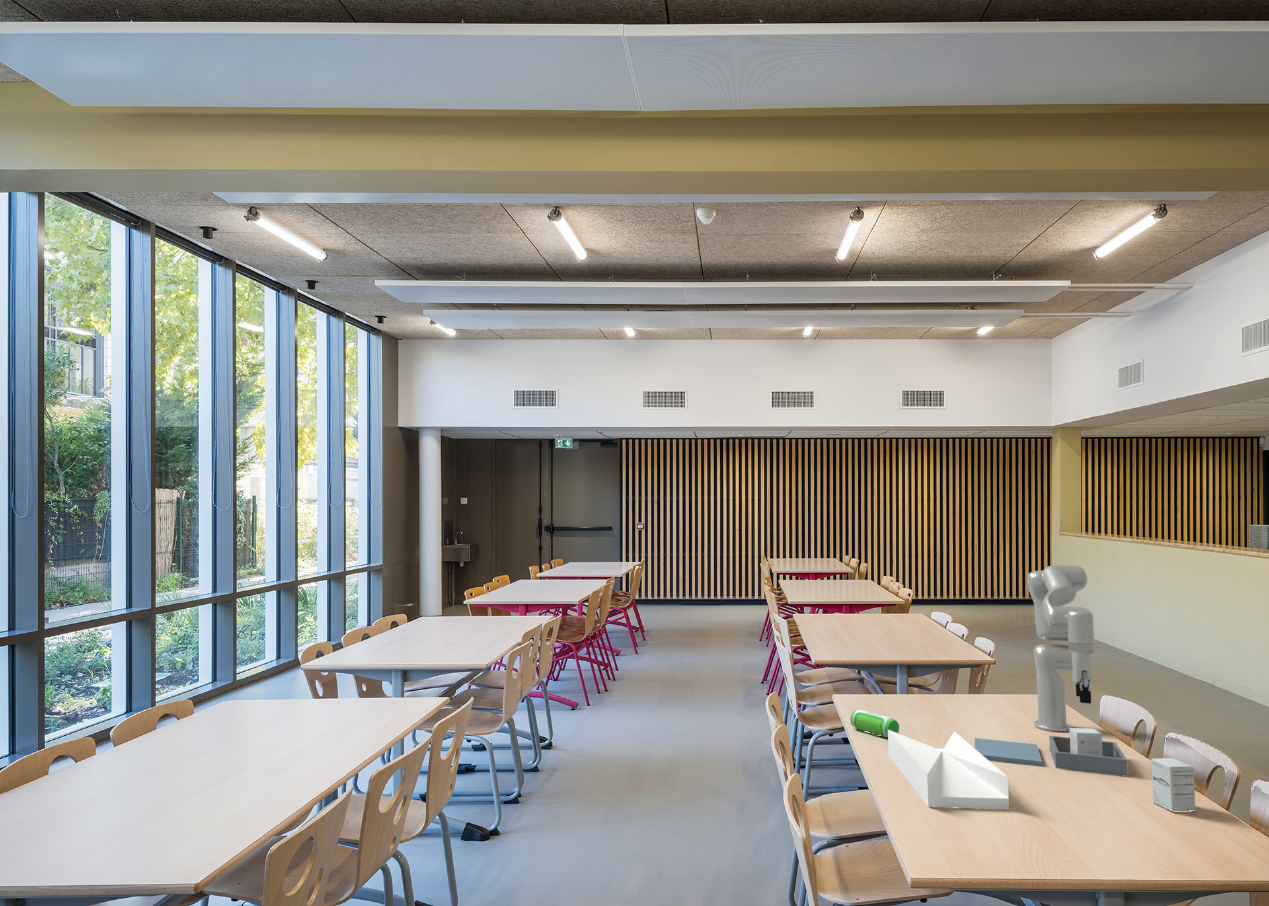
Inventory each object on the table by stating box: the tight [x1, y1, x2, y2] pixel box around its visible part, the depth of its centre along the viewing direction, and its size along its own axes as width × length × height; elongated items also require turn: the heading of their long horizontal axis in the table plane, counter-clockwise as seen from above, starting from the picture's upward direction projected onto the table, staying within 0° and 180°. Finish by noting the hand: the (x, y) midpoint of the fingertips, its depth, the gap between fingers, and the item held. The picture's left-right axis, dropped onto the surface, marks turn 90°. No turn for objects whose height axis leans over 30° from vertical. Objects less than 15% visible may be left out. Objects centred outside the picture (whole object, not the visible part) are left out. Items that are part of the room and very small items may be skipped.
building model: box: [887, 730, 1010, 810], centre depth 241 cm, size 45×22×10 cm, turn 176°
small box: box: [1069, 727, 1103, 756], centre depth 258 cm, size 8×6×10 cm
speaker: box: [850, 709, 900, 738], centre depth 291 cm, size 18×7×8 cm, turn 34°
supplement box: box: [1150, 757, 1196, 812], centre depth 220 cm, size 7×7×13 cm
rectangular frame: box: [1048, 735, 1129, 776], centre depth 258 cm, size 20×20×5 cm
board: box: [974, 737, 1043, 767], centre depth 267 cm, size 20×20×2 cm
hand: (1083, 699), depth 259 cm, fingers open, 9 cm apart
